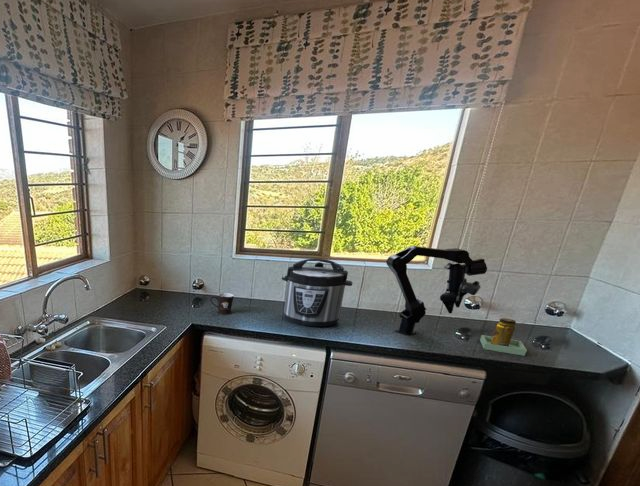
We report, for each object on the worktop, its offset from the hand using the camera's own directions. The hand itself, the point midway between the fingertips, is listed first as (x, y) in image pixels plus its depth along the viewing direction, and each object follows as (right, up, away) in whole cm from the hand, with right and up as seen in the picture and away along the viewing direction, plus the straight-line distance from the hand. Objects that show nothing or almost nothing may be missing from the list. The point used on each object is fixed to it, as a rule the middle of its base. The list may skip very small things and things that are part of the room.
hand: (454, 310), depth 186 cm
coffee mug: (-101, +2, +35) cm, 107 cm away
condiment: (+12, -17, -11) cm, 23 cm away
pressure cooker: (-58, -4, +23) cm, 62 cm away
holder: (+12, -17, -11) cm, 24 cm away
